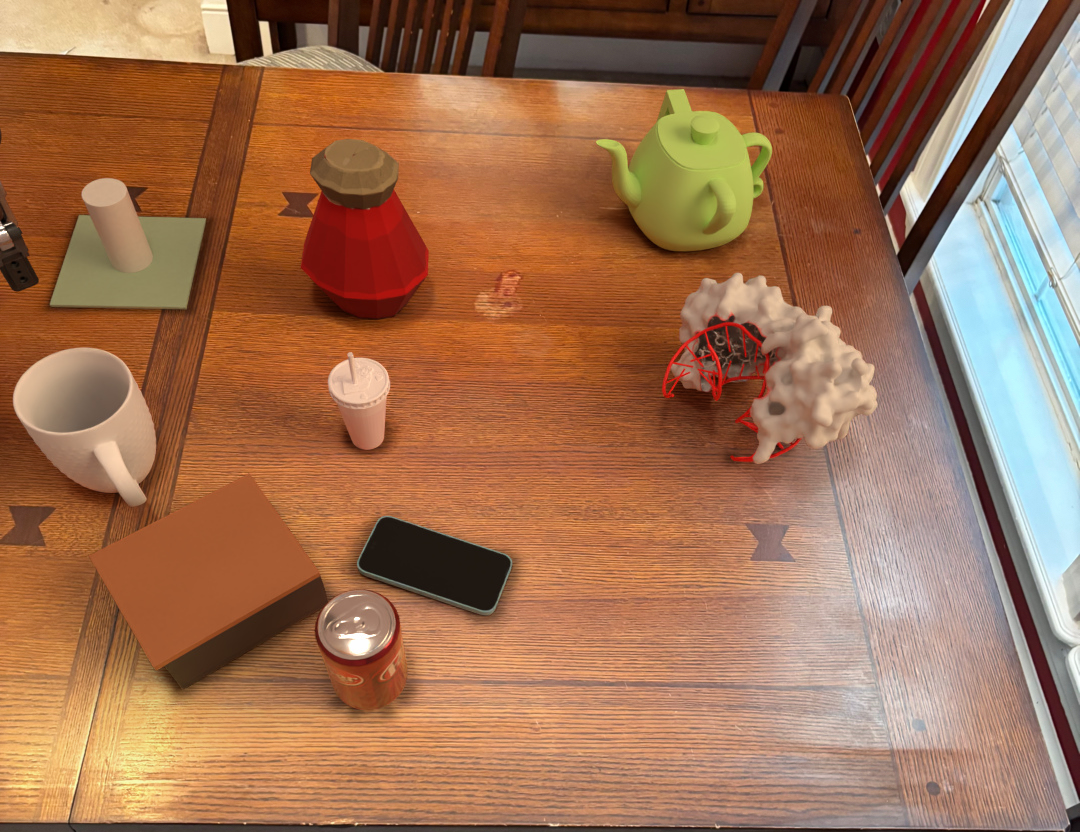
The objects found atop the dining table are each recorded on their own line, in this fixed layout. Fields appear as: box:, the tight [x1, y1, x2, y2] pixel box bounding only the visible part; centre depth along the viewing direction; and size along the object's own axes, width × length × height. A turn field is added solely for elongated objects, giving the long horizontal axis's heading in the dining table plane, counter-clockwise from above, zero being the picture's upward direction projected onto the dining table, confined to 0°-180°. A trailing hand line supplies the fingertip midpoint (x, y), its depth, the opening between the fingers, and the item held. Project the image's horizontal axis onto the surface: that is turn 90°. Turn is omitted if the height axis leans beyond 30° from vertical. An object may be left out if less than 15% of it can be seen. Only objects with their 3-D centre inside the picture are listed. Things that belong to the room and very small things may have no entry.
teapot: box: [595, 88, 773, 252], centre depth 117 cm, size 19×20×14 cm
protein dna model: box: [661, 272, 878, 465], centre depth 100 cm, size 20×18×25 cm
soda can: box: [314, 588, 409, 711], centre depth 82 cm, size 7×7×12 cm
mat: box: [48, 214, 207, 311], centre depth 113 cm, size 16×16×1 cm
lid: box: [88, 473, 321, 671], centre depth 85 cm, size 17×14×1 cm
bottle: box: [300, 138, 430, 321], centre depth 104 cm, size 16×14×20 cm
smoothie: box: [327, 351, 391, 451], centre depth 95 cm, size 6×6×14 cm
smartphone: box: [356, 515, 513, 616], centre depth 93 cm, size 7×1×15 cm
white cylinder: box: [81, 177, 153, 273], centre depth 108 cm, size 5×5×10 cm
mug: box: [12, 347, 157, 508], centre depth 91 cm, size 15×11×13 cm
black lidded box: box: [164, 575, 329, 691], centre depth 88 cm, size 16×14×6 cm
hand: (24, 282), depth 74 cm, fingers closed
